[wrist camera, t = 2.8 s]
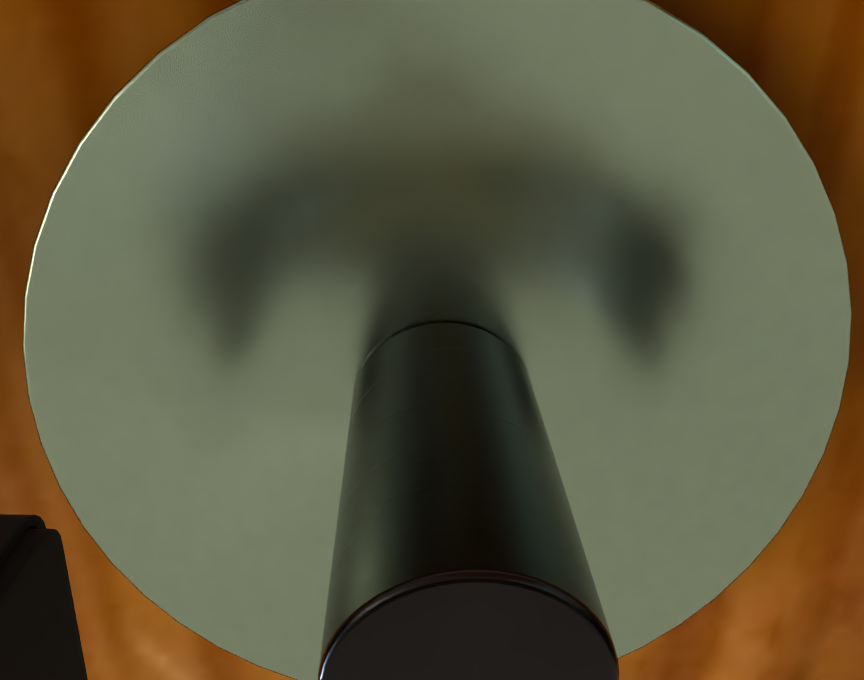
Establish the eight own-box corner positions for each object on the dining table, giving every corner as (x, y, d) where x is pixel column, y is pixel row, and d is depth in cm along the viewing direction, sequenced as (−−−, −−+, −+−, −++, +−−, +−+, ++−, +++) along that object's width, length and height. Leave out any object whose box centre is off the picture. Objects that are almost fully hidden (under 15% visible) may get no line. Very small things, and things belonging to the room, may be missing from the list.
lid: (-20, -66, 11) (-595, -127, 5) (911, -29, 12) (1524, -42, 5) (106, 655, 17) (-83, 1081, 10) (739, 656, 18) (940, 1060, 11)
